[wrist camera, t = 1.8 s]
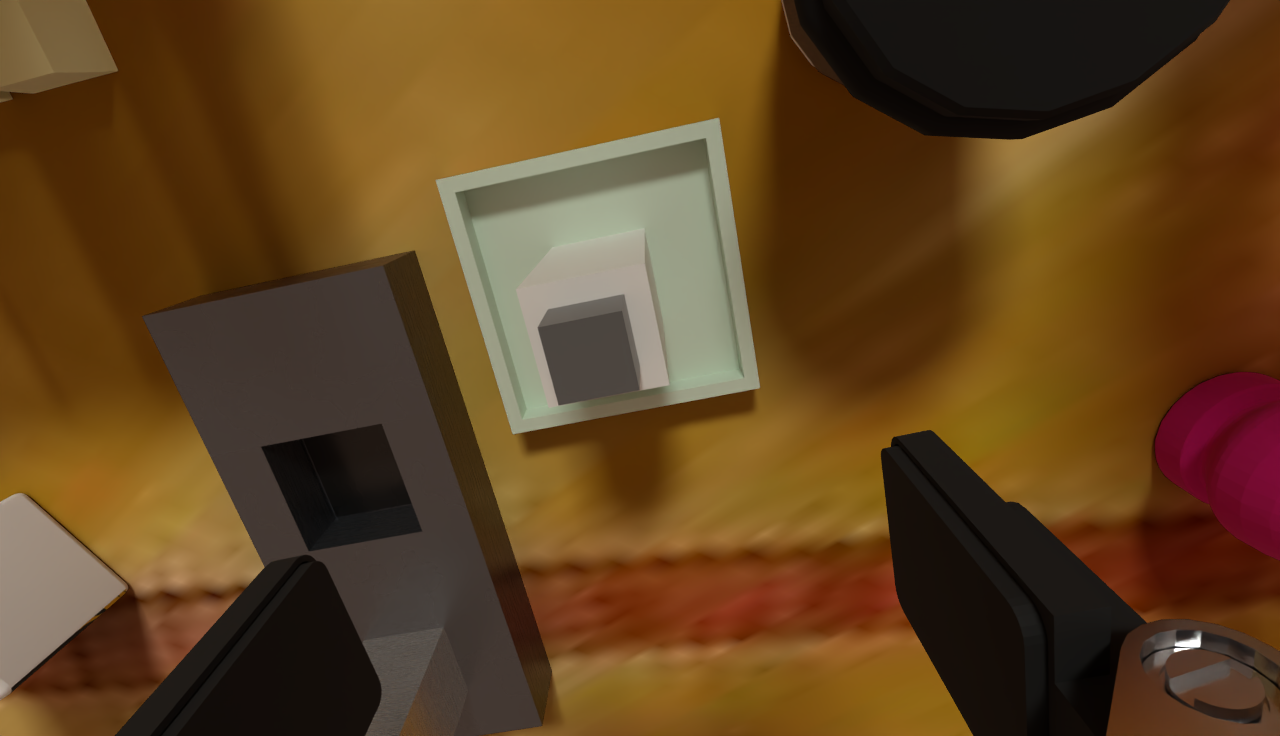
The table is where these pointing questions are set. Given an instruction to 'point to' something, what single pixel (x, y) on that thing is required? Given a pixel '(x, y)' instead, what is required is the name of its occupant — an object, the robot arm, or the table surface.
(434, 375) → the grey piece
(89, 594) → the medicine bottle
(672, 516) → the table surface
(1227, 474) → the pepper mill
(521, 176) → the tray
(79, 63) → the slatted curved stool
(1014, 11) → the coffee cup
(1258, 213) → the table surface
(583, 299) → the plug
